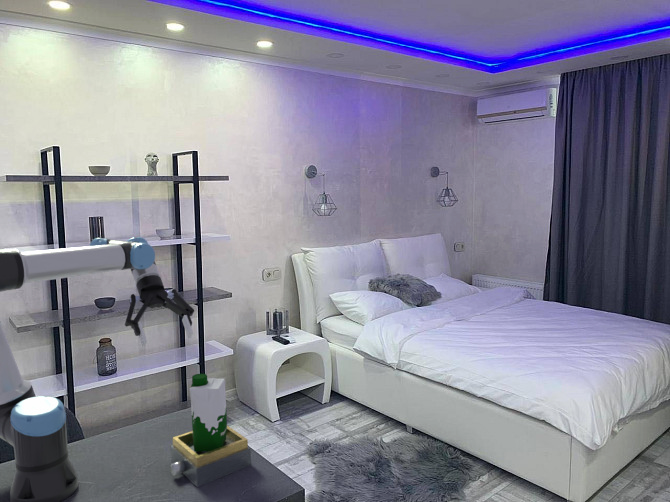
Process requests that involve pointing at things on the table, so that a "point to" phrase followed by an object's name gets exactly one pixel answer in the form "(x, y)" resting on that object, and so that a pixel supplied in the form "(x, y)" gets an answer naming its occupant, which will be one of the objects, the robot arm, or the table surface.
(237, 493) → the table surface
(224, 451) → the wooden rimmed tray
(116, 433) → the table surface
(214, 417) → the soya milk
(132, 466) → the table surface
